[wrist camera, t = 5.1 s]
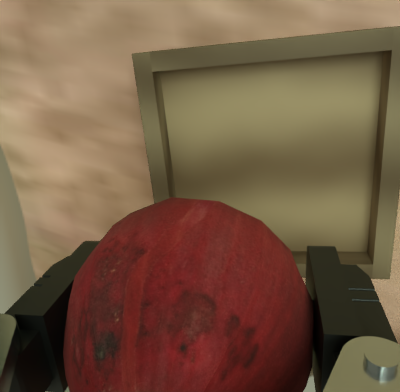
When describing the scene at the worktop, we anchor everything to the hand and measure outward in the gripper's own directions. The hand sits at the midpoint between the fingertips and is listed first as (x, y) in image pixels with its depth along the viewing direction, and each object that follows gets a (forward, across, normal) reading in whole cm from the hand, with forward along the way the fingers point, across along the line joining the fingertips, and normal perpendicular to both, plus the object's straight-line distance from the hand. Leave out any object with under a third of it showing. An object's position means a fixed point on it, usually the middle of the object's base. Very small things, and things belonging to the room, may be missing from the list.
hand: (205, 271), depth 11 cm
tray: (+16, -2, 0) cm, 16 cm away
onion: (+2, 0, 0) cm, 2 cm away
